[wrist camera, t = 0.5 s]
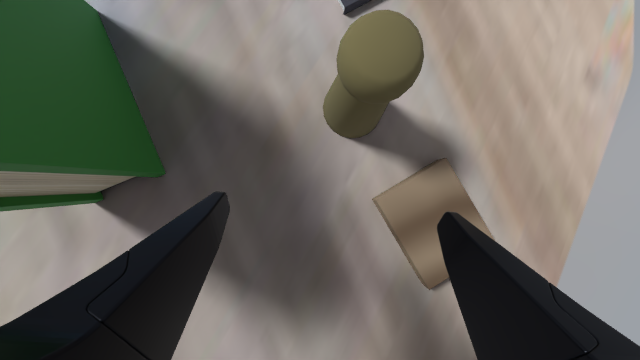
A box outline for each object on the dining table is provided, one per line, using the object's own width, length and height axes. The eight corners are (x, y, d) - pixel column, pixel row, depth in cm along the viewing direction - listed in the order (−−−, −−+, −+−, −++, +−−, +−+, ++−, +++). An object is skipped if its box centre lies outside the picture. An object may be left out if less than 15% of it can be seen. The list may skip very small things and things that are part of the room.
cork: (373, 74, 24) (427, -22, 13) (387, 130, 23) (454, 84, 12) (316, 87, 23) (320, 1, 12) (331, 144, 23) (347, 109, 12)
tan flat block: (486, 242, 24) (498, 246, 22) (421, 282, 23) (429, 289, 22) (437, 159, 24) (446, 158, 22) (372, 199, 23) (376, 200, 22)
